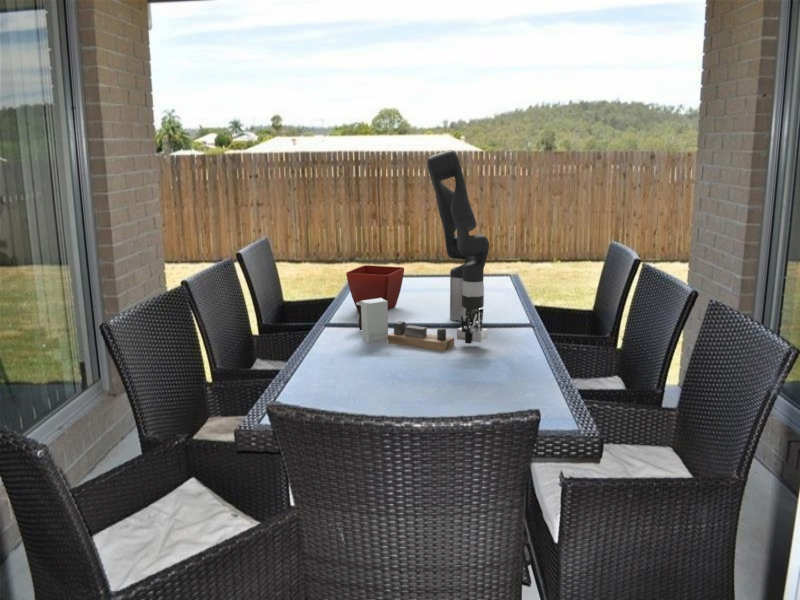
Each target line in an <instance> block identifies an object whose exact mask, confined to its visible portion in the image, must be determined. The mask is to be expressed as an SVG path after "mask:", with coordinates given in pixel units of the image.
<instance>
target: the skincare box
mask: <svg viewBox="0 0 800 600" xmlns="http://www.w3.org/2000/svg"><path fill="white" fill-rule="evenodd" d="M388 311H389V310H388V301H386V300H384V299H382V298H376V299H370V300H363V301H361V319H362V331H361V338H362V341H364V342H365V343H367V344H374V343H379V342H386V341H387V342H388V335H389V322H388V321H389V319H388V317H389V314H388V313H389V312H388Z"/></svg>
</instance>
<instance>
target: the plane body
mask: <svg viewBox="0 0 800 600" xmlns="http://www.w3.org/2000/svg"><path fill="white" fill-rule="evenodd" d="M427 330H428V329H427V327H425V326H418V325H407V326H406V321H404V320H398V321H396V322H394V323H393V332H392V333H390V334H389V333H388V340H387V344H390V345H396V346H398V345H399V346H403V347H412V348H418V349H425V350H432V351H436V352H446V351H448V350H450V349H451V348H453V347H455V337H453V336H447V329H446V328H443V327H441V328H437V331H436V334H432V333H431V334H429V333H428V331H427ZM452 346H453V347H452ZM449 348H450V349H449Z"/></svg>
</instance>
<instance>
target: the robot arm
mask: <svg viewBox="0 0 800 600" xmlns="http://www.w3.org/2000/svg"><path fill="white" fill-rule="evenodd" d="M458 156H459V155H458V154H457V152H456V151H455V150H453V149H449V150H446V151H443V152H440V153H436V154H434V155H430V156H428V158H427V160H426V164H427V165H426V167H427V170H428V174H429V177H430V179H431V184H432V187H433V190H434V194H435V199H436V204H437V209H438V212H439V213H438V214H439V216H440V217H439V219H440V221H441V224H442V229H443V235H444V241H445V250H446V253H447V256H448V257H449V258H450V259H453V260H464V263H463V264H461V265H459V266H455V267H452V268H451V269H450V271H449V274H450V275H449V278H450V279H449V320H451V321H456V320H458V321H457V322H461V323H460V324H461V327H462V332H465V340H464V343H465V344H472V343H473V341H472V329H473V327H476V328H481V326H483V319H484V317H483V316H484V308H483V307H484V304H485V302H484V301H485V299H484V298H485V284H484V273H485V272H484V269H485V265H486V264H487V263H486V262H487V258H488V255H489V252H490V251H489V250H490V241H489V239H488V237H487V236H485V235H484V234H473V235H471V234H470V232H472V231H474V230H475V229H476V228H477V226H478V225H477V220H476V218H475V215H474V211H473V209H472V207H471V203H470V199H469V194H468V191H467V186H466V182H465V177H464V174H463V169H462V166H461V163H460V159H459V157H458ZM451 178H454V181H455V187H454V190H452V189H450V188H449V187H448V186H446V185H445V184H444V183H443V181H445V180H449V179H451ZM455 232H456V234H455ZM464 326H465V327H464Z"/></svg>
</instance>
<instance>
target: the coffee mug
mask: <svg viewBox="0 0 800 600" xmlns="http://www.w3.org/2000/svg"><path fill="white" fill-rule="evenodd" d="M356 306H357V308H356V311H357V319H358V327H359V331H361V330H362V319H361V302H357V303H356ZM356 306H355V307H356Z"/></svg>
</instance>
